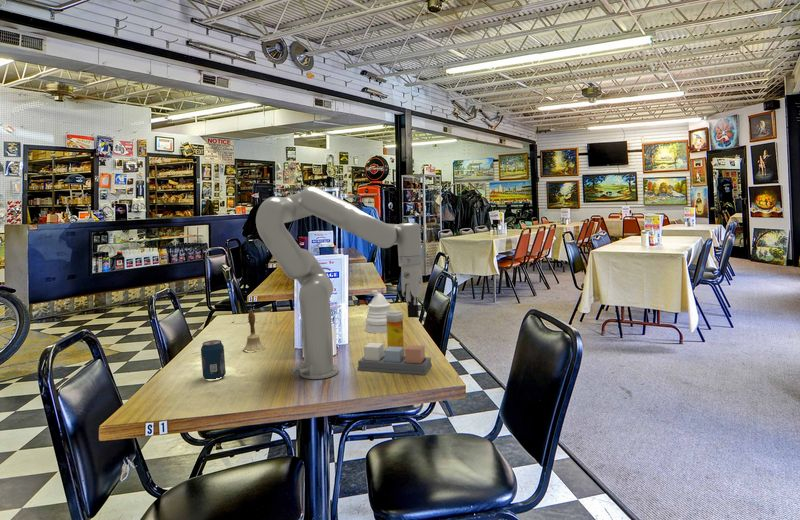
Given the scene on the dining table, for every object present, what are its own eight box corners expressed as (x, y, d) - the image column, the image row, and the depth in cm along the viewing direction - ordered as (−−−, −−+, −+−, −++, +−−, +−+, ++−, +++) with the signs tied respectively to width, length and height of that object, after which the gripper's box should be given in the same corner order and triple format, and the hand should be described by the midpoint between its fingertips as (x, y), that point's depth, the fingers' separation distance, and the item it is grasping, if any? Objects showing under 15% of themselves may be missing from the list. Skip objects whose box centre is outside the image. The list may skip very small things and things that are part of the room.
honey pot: (373, 335, 200) (372, 293, 198) (361, 329, 211) (359, 290, 210) (399, 330, 206) (398, 290, 204) (386, 325, 217) (385, 287, 216)
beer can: (402, 352, 172) (400, 313, 171) (386, 352, 174) (384, 313, 172) (405, 348, 178) (403, 309, 177) (389, 347, 180) (388, 309, 178)
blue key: (404, 360, 157) (403, 347, 157) (399, 364, 152) (399, 351, 152) (389, 359, 159) (389, 346, 158) (384, 363, 154) (384, 350, 153)
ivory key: (384, 356, 159) (383, 343, 159) (379, 360, 154) (378, 347, 154) (369, 355, 161) (369, 342, 160) (364, 359, 156) (363, 346, 155)
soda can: (203, 376, 154) (200, 341, 153) (225, 373, 156) (223, 338, 155) (202, 383, 147) (199, 346, 146) (226, 380, 150) (223, 343, 149)
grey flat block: (431, 365, 156) (431, 357, 156) (425, 375, 148) (424, 365, 147) (367, 361, 163) (367, 353, 163) (357, 370, 155) (357, 361, 154)
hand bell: (265, 350, 182) (263, 310, 180) (243, 353, 179) (240, 313, 177) (263, 345, 189) (261, 307, 188) (242, 348, 186) (239, 309, 185)
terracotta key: (424, 358, 155) (424, 345, 154) (421, 363, 150) (420, 350, 149) (409, 357, 156) (409, 344, 156) (405, 362, 151) (405, 349, 151)
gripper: (415, 263, 142) (418, 322, 144) (426, 258, 156) (429, 311, 158) (392, 264, 144) (395, 322, 146) (405, 258, 158) (408, 311, 160)
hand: (413, 316), depth 152 cm, fingers closed
